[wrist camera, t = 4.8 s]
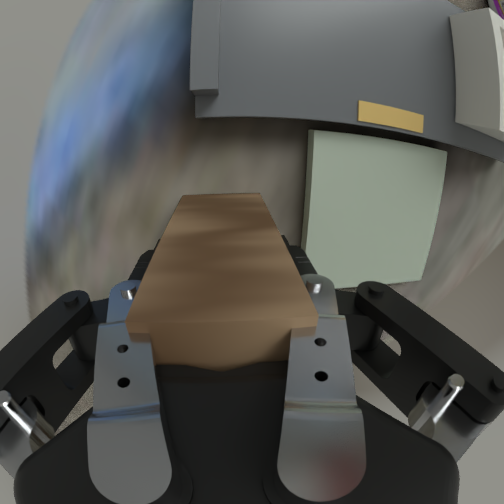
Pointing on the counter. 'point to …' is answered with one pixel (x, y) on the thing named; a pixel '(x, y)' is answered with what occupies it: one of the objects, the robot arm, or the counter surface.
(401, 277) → the tool rest
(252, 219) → the peg
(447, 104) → the switch panel
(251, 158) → the counter surface
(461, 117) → the tab
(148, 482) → the robot arm
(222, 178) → the counter surface
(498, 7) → the supplement bottle
